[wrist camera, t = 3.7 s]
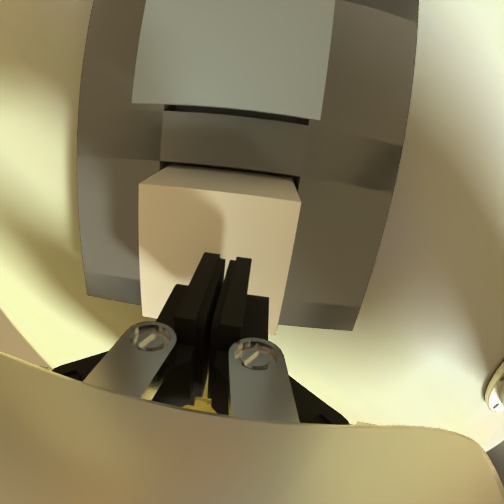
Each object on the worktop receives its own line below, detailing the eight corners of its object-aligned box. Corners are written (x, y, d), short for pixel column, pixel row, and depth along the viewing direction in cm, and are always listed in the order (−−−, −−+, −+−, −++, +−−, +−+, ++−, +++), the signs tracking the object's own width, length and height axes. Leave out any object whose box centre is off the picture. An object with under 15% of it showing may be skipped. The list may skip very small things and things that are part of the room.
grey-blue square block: (318, -2, 11) (338, -41, 7) (303, 118, 13) (320, 120, 9) (186, -13, 11) (158, -52, 7) (169, 104, 13) (131, 103, 9)
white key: (291, 178, 15) (301, 202, 11) (273, 284, 18) (275, 334, 14) (170, 164, 15) (138, 183, 11) (167, 271, 18) (142, 316, 14)
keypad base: (397, -87, 9) (412, -107, 6) (342, 303, 21) (352, 330, 18) (153, -110, 9) (140, -131, 6) (106, 272, 20) (87, 295, 18)
